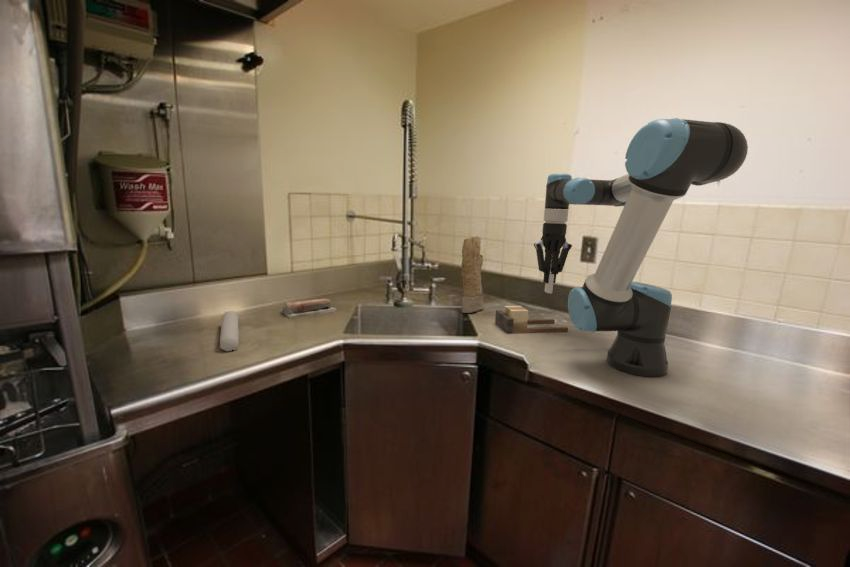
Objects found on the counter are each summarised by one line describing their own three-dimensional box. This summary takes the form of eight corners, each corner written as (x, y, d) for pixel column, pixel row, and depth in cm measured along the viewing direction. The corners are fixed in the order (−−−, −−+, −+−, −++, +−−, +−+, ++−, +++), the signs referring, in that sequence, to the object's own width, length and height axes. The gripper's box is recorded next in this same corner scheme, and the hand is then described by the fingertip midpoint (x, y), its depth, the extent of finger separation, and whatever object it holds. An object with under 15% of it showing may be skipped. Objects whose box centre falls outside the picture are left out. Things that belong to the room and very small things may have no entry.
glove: (485, 315, 154) (491, 238, 148) (458, 313, 155) (463, 237, 148) (482, 306, 168) (487, 235, 161) (457, 304, 168) (461, 233, 162)
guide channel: (568, 335, 134) (570, 318, 133) (507, 337, 130) (508, 320, 129) (550, 324, 146) (552, 308, 145) (494, 326, 141) (495, 309, 140)
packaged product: (289, 306, 139) (280, 300, 147) (289, 320, 140) (280, 313, 148) (336, 300, 150) (326, 295, 158) (336, 312, 151) (326, 306, 159)
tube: (242, 338, 110) (241, 313, 132) (221, 334, 107) (223, 309, 129) (236, 356, 110) (236, 328, 132) (215, 352, 108) (219, 324, 130)
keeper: (526, 330, 134) (528, 310, 132) (509, 331, 133) (511, 311, 131) (518, 324, 140) (520, 305, 139) (502, 325, 139) (504, 305, 137)
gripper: (567, 222, 136) (560, 290, 140) (531, 221, 133) (525, 290, 138) (579, 223, 129) (571, 294, 133) (542, 222, 126) (535, 295, 131)
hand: (548, 292), depth 135 cm, fingers closed
